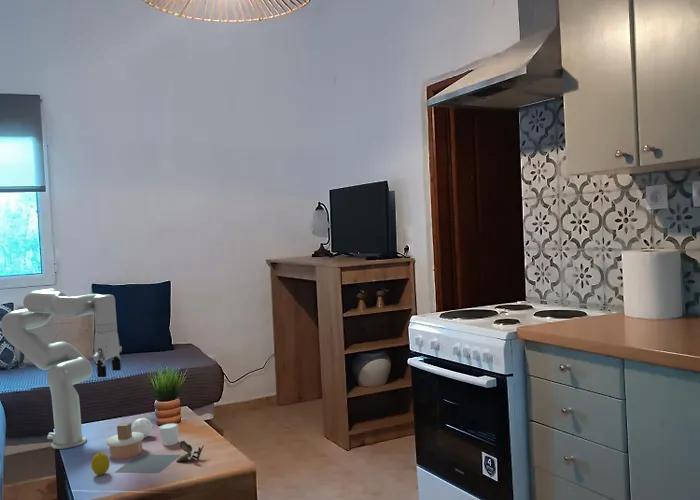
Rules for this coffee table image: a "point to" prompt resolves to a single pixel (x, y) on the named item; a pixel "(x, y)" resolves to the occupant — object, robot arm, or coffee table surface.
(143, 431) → the geometric ball
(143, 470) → the mat
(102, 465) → the lemon
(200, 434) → the coffee table surface
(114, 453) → the bowl
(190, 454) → the eagle figurine
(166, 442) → the shot glass
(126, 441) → the lid
